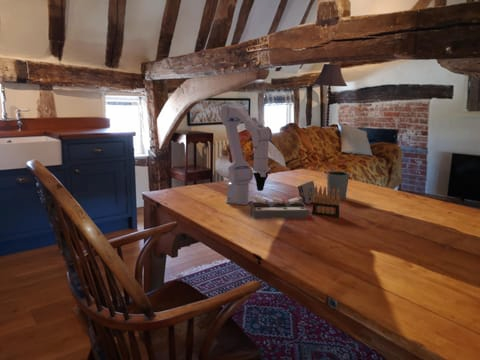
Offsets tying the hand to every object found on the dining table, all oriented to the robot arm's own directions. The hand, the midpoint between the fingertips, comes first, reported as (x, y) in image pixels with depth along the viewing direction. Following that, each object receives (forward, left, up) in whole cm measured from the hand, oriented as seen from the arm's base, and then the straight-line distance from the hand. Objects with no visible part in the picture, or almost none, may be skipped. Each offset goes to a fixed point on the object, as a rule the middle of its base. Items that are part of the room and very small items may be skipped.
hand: (260, 190), depth 149 cm
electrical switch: (+16, +23, -10) cm, 29 cm away
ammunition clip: (+26, +6, -10) cm, 28 cm away
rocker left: (+1, 0, -4) cm, 4 cm away
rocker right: (+14, +6, -4) cm, 15 cm away
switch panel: (+8, +2, -9) cm, 12 cm away
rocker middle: (+7, +3, -4) cm, 9 cm away
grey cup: (+28, +35, -10) cm, 45 cm away
